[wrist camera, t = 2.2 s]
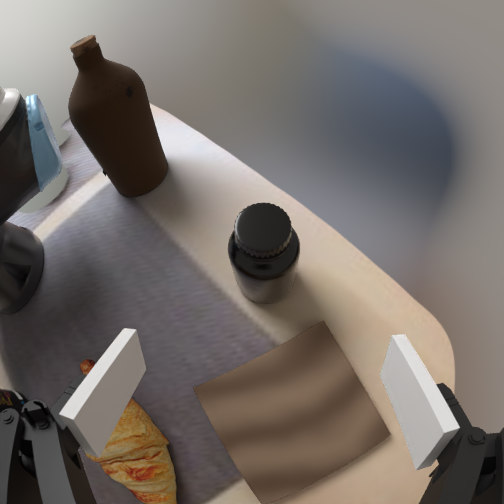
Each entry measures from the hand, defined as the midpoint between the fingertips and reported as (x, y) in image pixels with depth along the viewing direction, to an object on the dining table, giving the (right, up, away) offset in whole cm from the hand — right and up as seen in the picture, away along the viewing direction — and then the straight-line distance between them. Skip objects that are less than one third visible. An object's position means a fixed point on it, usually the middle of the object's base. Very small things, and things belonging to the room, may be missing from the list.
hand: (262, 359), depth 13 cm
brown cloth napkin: (+4, -13, +13) cm, 19 cm away
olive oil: (-19, +18, +30) cm, 39 cm away
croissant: (-15, -17, +12) cm, 26 cm away
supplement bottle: (+1, +2, +21) cm, 21 cm away
